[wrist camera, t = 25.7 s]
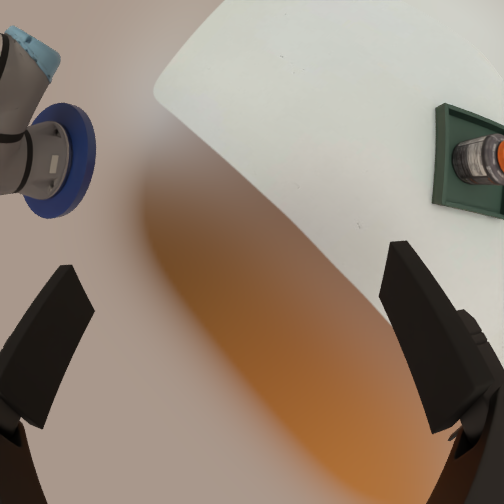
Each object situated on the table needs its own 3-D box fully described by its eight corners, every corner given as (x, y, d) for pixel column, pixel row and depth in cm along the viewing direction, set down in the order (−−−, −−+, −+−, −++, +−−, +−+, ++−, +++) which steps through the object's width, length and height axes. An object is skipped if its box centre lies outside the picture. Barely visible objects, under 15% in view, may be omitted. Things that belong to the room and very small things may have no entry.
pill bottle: (488, 160, 28) (537, 156, 17) (472, 193, 30) (522, 198, 19) (460, 132, 29) (507, 118, 18) (444, 166, 30) (491, 161, 19)
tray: (431, 203, 32) (441, 204, 29) (435, 107, 29) (444, 102, 26) (500, 218, 30) (511, 221, 27) (503, 132, 27) (514, 130, 24)
